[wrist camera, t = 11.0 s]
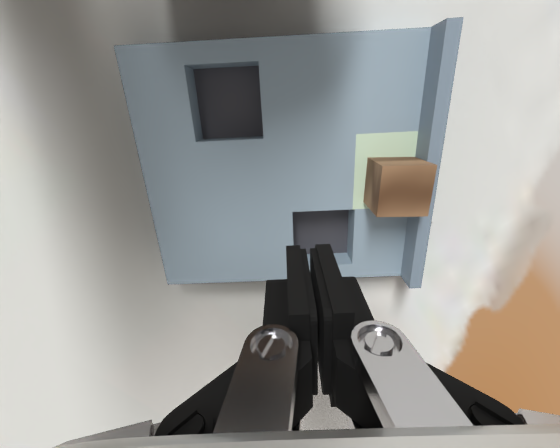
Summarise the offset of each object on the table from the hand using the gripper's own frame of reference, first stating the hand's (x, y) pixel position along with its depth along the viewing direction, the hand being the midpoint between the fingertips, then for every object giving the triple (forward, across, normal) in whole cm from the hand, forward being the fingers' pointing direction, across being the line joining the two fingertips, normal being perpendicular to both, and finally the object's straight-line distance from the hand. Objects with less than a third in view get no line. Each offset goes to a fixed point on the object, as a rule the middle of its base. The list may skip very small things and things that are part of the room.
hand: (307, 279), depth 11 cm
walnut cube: (+19, -10, +1) cm, 21 cm away
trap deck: (+22, +1, 0) cm, 22 cm away
